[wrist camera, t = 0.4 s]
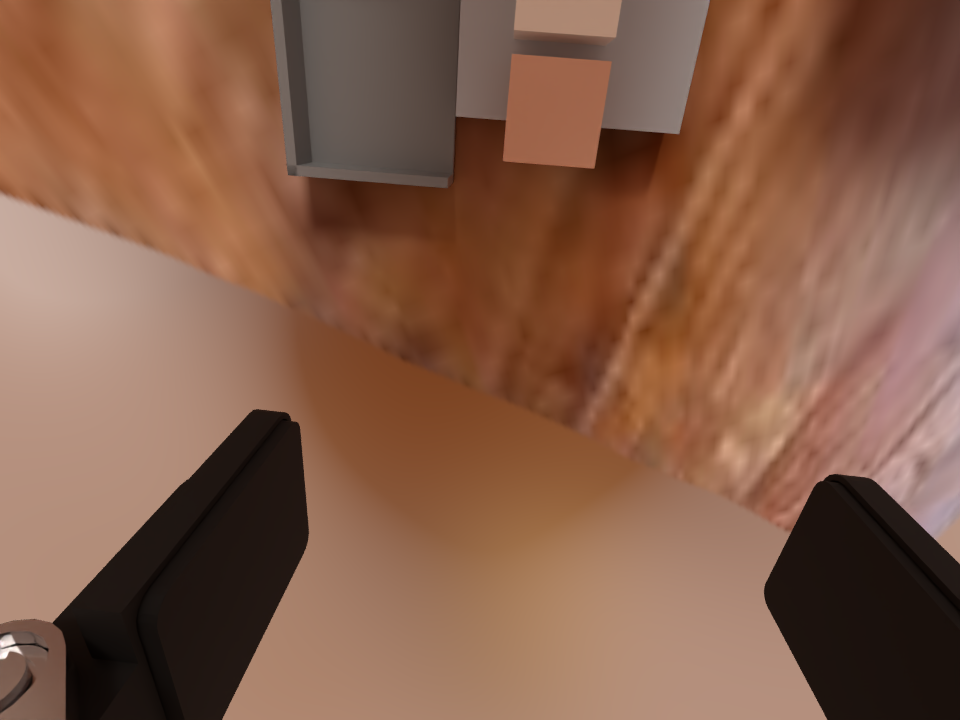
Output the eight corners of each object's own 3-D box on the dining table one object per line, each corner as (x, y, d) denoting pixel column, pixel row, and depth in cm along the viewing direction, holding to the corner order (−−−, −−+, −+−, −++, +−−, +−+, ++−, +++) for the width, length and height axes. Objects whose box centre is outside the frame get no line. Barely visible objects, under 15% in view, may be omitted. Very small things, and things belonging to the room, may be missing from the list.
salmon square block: (512, 60, 27) (511, 53, 24) (602, 67, 27) (611, 61, 24) (503, 157, 29) (502, 161, 26) (586, 164, 29) (594, 168, 26)
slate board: (472, -137, 26) (467, -167, 23) (719, -120, 25) (744, -149, 23) (460, 116, 31) (455, 116, 28) (664, 132, 31) (679, 133, 28)
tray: (284, -100, 27) (257, -127, 24) (464, -88, 27) (458, -113, 24) (307, 170, 33) (288, 175, 30) (453, 182, 33) (447, 188, 30)
